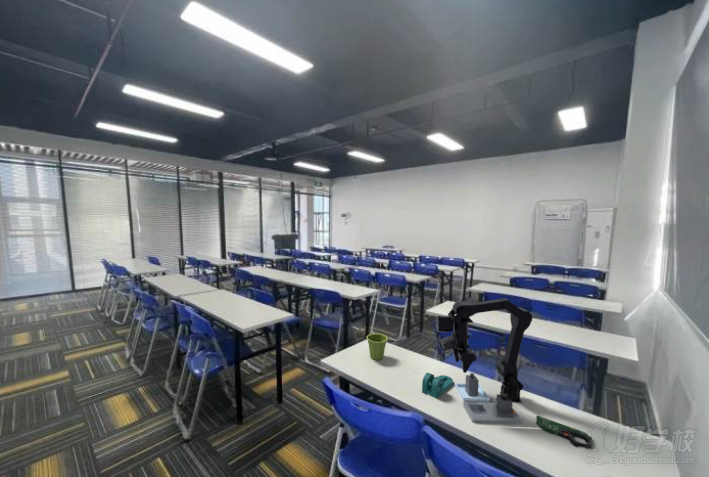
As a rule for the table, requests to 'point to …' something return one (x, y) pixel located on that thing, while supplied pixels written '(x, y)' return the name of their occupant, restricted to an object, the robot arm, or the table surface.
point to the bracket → (435, 384)
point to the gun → (564, 432)
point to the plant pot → (377, 345)
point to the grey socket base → (493, 411)
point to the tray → (481, 396)
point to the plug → (471, 385)
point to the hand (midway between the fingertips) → (460, 367)
